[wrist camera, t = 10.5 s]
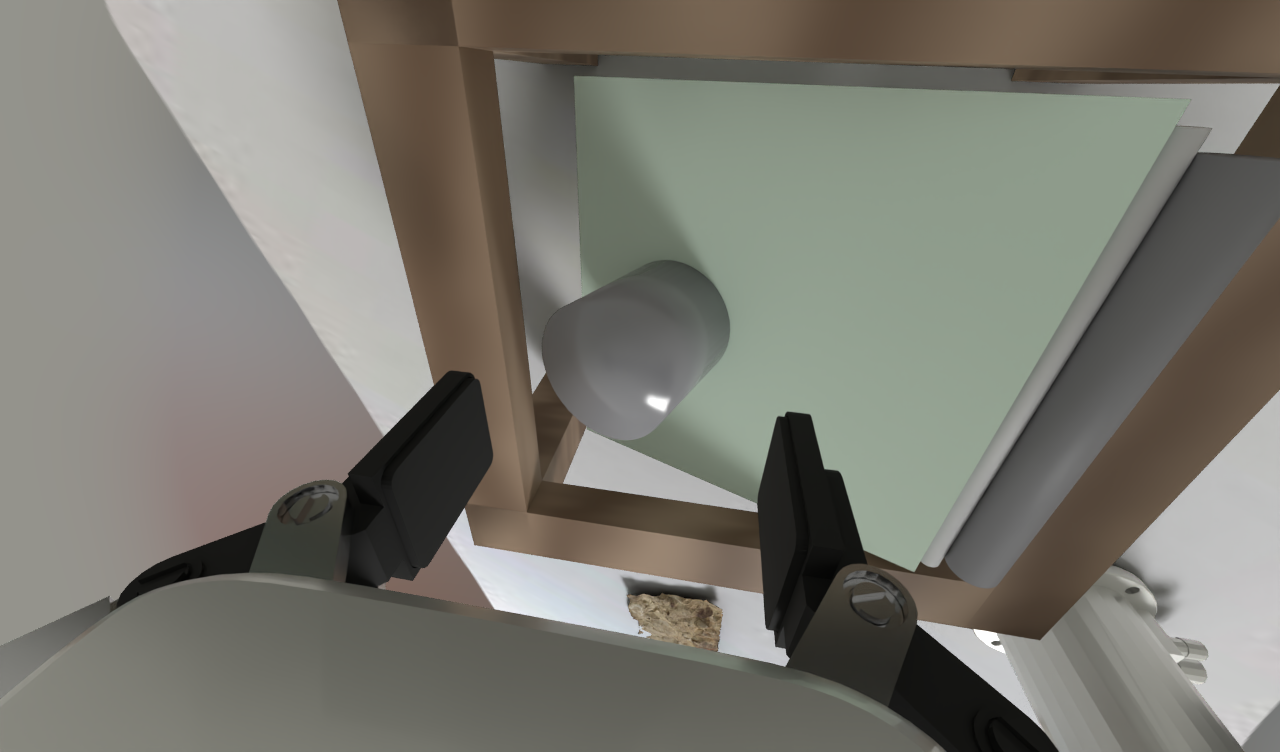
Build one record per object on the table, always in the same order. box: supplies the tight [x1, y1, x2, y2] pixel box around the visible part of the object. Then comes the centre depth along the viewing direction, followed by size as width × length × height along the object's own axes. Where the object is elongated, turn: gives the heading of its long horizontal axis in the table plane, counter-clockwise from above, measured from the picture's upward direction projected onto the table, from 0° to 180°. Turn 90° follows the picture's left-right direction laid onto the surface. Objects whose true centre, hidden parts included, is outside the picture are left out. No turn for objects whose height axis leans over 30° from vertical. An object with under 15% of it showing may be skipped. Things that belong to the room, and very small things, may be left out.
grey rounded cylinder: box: [542, 260, 730, 440], centre depth 17 cm, size 5×5×5 cm
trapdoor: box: [574, 76, 1280, 589], centre depth 17 cm, size 18×16×2 cm
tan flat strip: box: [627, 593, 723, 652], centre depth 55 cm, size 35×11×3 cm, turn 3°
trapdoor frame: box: [337, 0, 1280, 640], centre depth 21 cm, size 26×23×14 cm
